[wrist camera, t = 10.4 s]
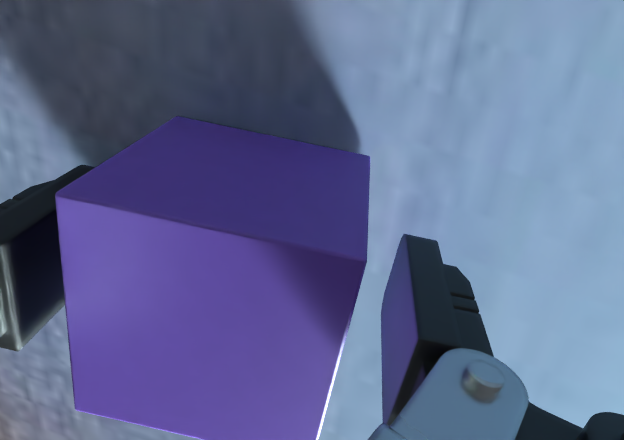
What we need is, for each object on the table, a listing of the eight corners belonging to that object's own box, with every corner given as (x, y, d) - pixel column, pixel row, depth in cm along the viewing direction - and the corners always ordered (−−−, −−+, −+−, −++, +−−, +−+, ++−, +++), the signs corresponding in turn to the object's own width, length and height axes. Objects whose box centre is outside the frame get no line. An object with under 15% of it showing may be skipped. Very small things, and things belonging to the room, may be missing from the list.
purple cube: (176, 114, 10) (53, 192, 6) (370, 155, 10) (367, 260, 6) (169, 276, 13) (73, 411, 9) (332, 312, 12) (311, 465, 8)
